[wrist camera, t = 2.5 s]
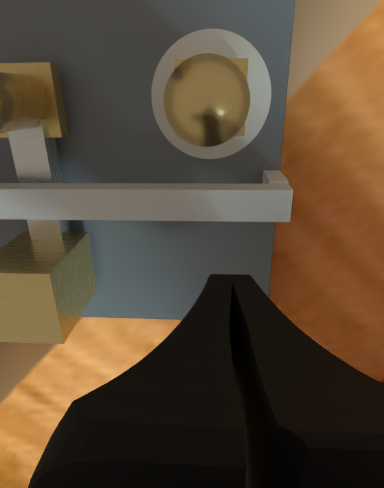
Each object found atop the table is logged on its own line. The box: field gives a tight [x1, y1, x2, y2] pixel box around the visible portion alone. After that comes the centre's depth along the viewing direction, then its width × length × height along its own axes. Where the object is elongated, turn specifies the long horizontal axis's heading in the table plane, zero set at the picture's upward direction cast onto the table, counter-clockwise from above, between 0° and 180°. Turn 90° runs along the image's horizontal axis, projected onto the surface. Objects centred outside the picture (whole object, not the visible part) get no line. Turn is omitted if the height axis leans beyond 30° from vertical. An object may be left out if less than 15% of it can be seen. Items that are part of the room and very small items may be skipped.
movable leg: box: [0, 62, 97, 344], centre depth 10 cm, size 3×8×5 cm, turn 1°
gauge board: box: [0, 0, 295, 320], centre depth 12 cm, size 20×13×4 cm, turn 91°
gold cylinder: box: [164, 53, 250, 147], centre depth 9 cm, size 2×2×5 cm
